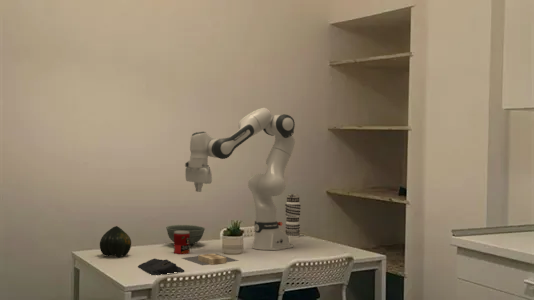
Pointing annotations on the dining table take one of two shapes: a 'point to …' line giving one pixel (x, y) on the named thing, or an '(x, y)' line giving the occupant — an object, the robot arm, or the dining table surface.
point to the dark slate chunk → (159, 267)
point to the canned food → (181, 242)
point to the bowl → (194, 231)
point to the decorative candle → (292, 215)
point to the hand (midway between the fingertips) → (198, 191)
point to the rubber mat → (195, 260)
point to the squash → (115, 242)
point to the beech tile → (212, 259)
